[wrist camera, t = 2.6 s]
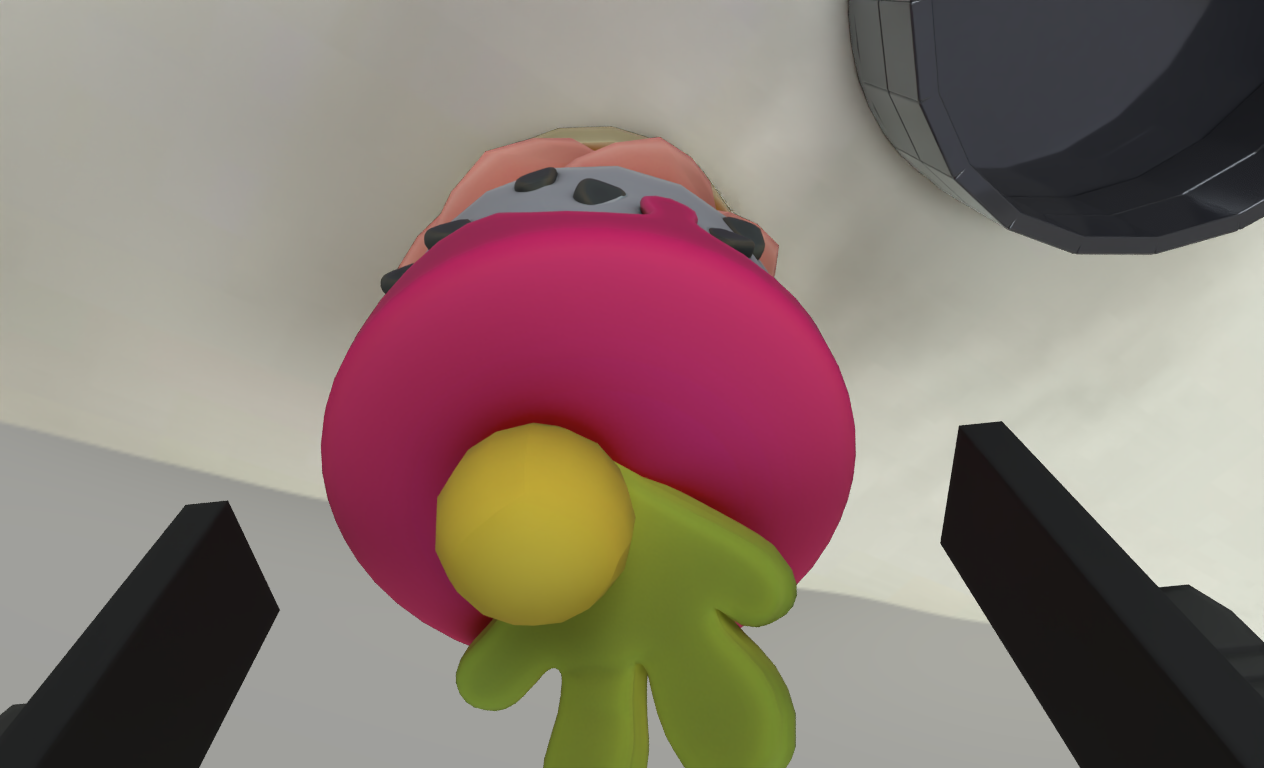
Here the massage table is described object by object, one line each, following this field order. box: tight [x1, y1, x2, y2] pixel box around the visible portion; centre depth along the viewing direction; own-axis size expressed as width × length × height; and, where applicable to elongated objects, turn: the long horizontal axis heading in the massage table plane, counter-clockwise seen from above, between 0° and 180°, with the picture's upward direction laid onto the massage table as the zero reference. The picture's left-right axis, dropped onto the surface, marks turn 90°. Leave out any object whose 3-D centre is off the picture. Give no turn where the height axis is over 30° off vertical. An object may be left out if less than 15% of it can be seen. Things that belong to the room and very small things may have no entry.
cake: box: [321, 126, 856, 768], centre depth 16 cm, size 10×10×15 cm
